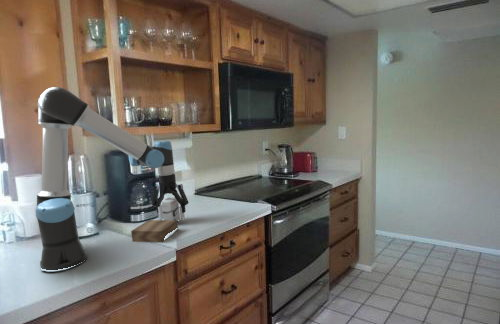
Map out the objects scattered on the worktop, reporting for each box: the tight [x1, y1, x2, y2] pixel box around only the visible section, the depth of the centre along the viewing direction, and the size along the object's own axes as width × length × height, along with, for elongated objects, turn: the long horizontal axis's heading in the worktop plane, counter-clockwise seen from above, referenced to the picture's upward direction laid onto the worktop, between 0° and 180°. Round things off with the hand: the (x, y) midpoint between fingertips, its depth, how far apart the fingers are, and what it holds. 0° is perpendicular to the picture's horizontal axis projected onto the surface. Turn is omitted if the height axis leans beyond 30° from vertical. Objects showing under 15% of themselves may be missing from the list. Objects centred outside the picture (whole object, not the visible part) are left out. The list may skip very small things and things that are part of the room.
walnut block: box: [130, 219, 179, 243], centre depth 146 cm, size 14×14×5 cm
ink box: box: [161, 196, 181, 221], centre depth 161 cm, size 8×5×12 cm, turn 168°
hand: (172, 219), depth 162 cm, fingers open, 10 cm apart
